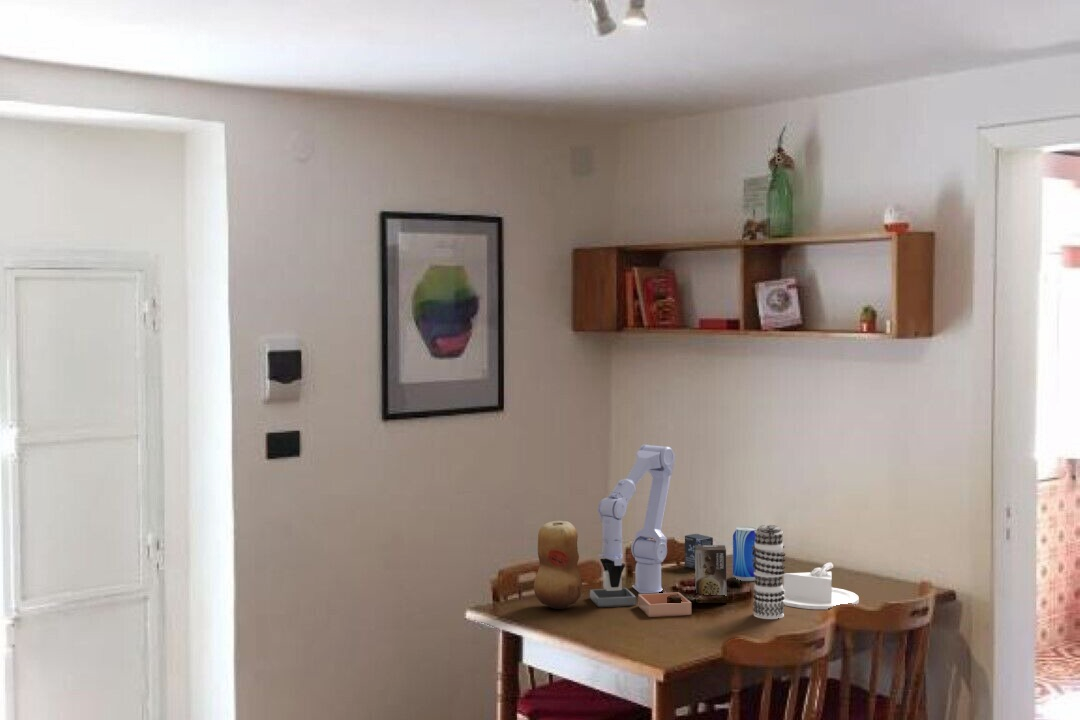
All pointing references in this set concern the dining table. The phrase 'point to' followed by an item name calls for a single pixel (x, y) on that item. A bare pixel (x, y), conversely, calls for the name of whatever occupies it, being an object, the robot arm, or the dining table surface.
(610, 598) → the tray
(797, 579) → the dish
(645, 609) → the bin
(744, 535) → the beer can
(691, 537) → the box
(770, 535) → the decorative candle
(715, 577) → the coffee box
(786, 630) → the dining table surface
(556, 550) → the butternut squash
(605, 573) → the white cube
